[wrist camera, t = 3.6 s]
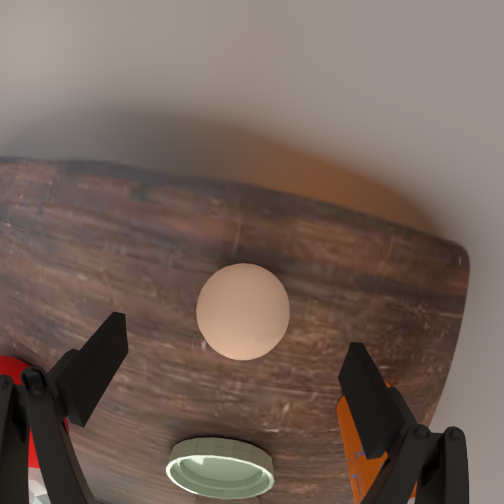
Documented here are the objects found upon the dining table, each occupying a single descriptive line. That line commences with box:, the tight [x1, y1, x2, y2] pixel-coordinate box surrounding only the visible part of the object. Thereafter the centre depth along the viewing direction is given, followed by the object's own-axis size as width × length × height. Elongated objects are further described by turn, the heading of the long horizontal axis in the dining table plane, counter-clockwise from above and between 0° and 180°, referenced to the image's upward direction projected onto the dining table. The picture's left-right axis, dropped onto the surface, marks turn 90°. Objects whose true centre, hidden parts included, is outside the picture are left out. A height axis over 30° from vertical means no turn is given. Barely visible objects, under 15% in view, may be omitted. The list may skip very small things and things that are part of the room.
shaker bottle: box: [336, 381, 417, 504], centre depth 18 cm, size 9×9×20 cm
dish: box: [166, 438, 275, 499], centre depth 29 cm, size 14×14×4 cm
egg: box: [196, 263, 290, 360], centre depth 20 cm, size 7×7×8 cm
